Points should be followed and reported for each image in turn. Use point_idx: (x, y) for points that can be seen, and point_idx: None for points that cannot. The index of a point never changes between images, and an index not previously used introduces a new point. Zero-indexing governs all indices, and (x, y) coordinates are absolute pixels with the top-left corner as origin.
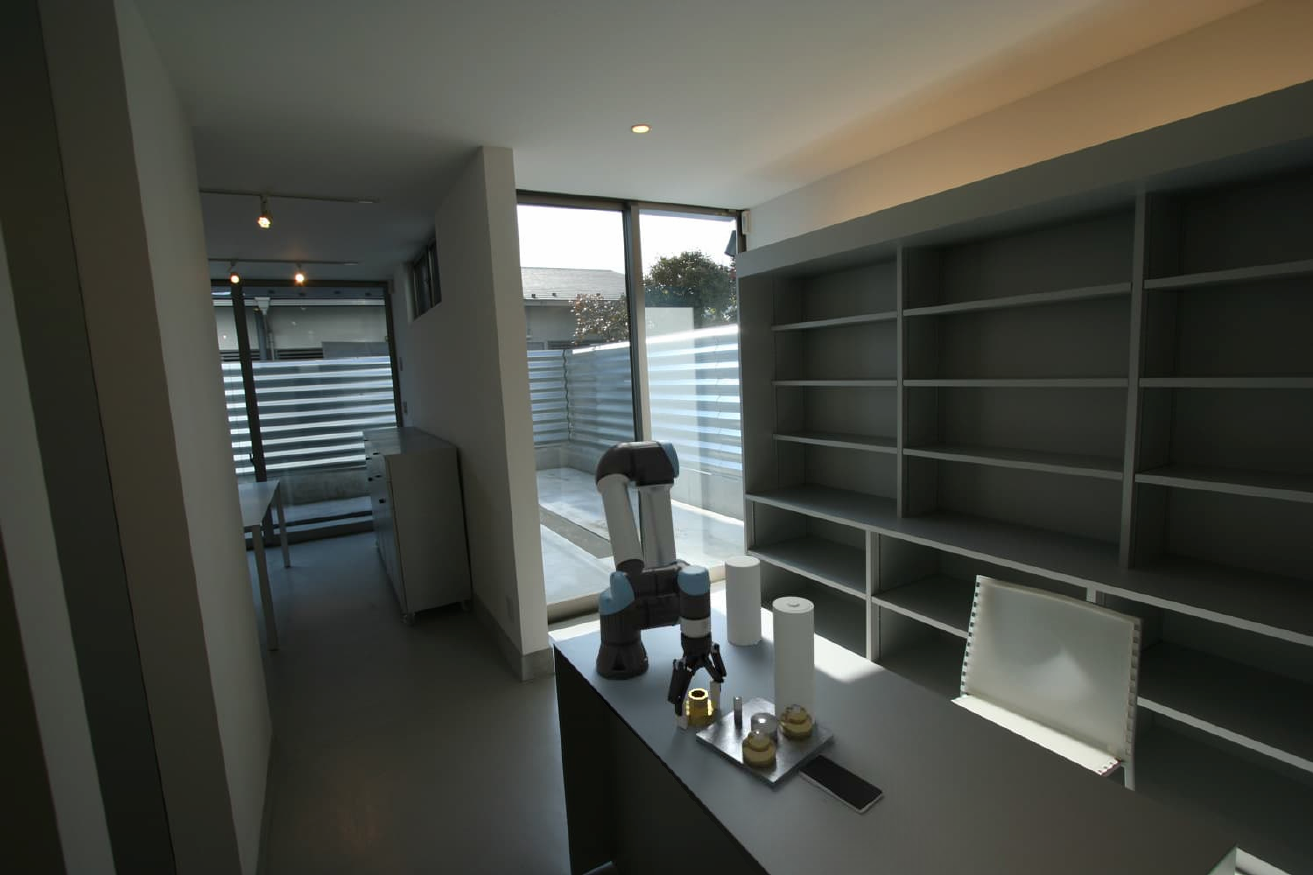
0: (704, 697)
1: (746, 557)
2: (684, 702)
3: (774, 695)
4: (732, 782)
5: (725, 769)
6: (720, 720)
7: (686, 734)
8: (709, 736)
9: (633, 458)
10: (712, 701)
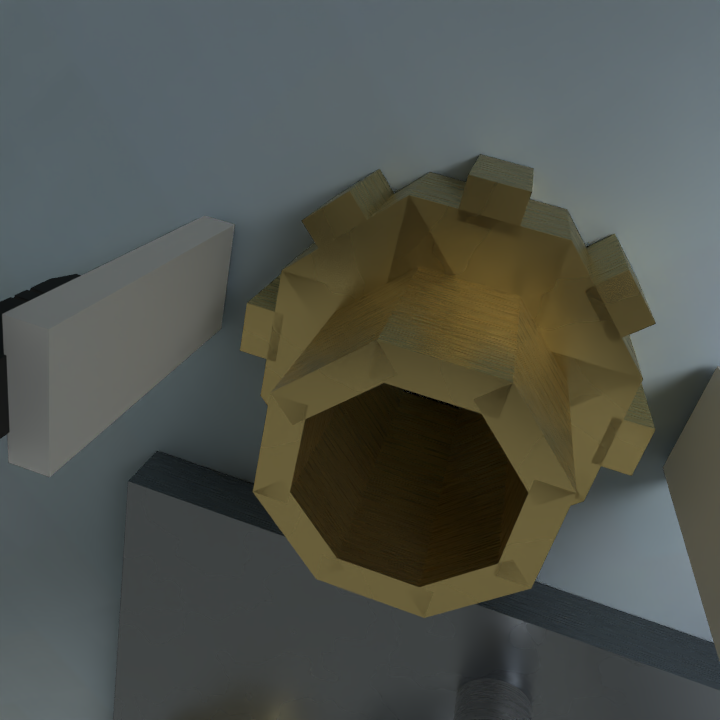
0: (368, 591)
1: None
2: (36, 457)
3: None
4: (31, 713)
5: (74, 671)
6: None
7: None
8: (175, 573)
9: None
10: (715, 422)
